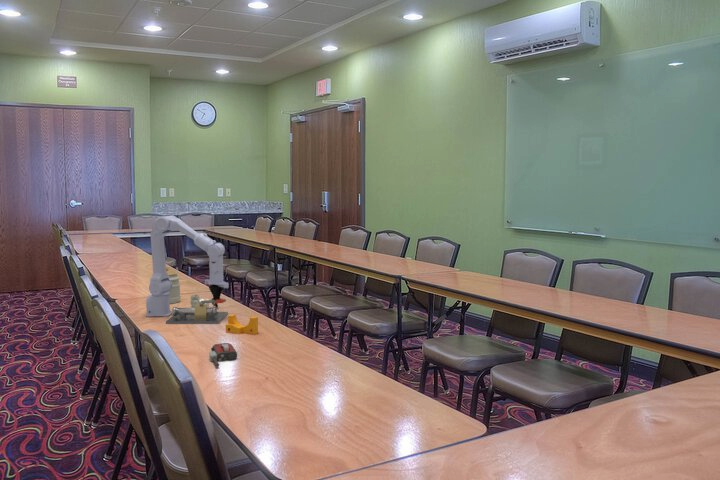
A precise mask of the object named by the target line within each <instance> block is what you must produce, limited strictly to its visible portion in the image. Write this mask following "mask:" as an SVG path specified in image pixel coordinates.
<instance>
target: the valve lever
mask: <svg viewBox="0 0 720 480" xmlns="http://www.w3.org/2000/svg"><path fill="white" fill-rule="evenodd" d="M226 301H227V300H226V298H222V297H221V298H220V299H216V300H211V299H203V300H202V301H201V302H202V303H200V306H203V305H204V303H205V304H206V303H209V304H212V303H218V304H224V303H226Z"/></svg>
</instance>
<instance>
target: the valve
mask: <svg viewBox="0 0 720 480" xmlns="http://www.w3.org/2000/svg"><path fill="white" fill-rule="evenodd" d="M202 300H204V298H200V295H199V294H192V295H190V302H189V303H190V308H194V307H195V306H196V305H197V304H200V303H202V302H201V301H202ZM210 300H213V297H212V298H211V299H210ZM204 304H209V305H210V303H204ZM211 304H212V307H217V308H218V307H219V305H218V304H219V303H211Z"/></svg>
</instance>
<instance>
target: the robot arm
mask: <svg viewBox="0 0 720 480" xmlns="http://www.w3.org/2000/svg"><path fill="white" fill-rule="evenodd" d="M172 231H178V232H180V233H182V234H183V235H184V236H186V237H188V238H190V239H191V240H193V243H194V245H196V246H197V247H198V248H200V249H201V250H203V251H204V252H206V253H207V256H208V257H209V260H208V261H209V279H208V278H207V279H204V285H210V286H209V287H208V288H209V291H210V293H211V295H212V298H213V300H216V299H221V295H222V292H223V290H224V289H227V288H228V289H229V287H230V286H229V285H230V283H229V282H226V281H224V254H225V252H226V248H225V245H224V244H223V243H221V242H217V240H216V239H214V240H213V239H212V238H211V237H209V236H208V234H207V233H202V232H201V233H198V232H197V231H195V230H194V229H193V228H192V227H190V226H189V225H187V224H186V223H185V222H184V221H182V220H181V218H179V217H177V216H175V215H173V214H170V215H166V216H165V215H164V216H163V215H162V216H159V217H157V218H156V219H155V220H153V226H152V229H151V231H150V233H149V234H150V235H149V236H150V244H151V245H150V246H151V257H152V258H151V260H152V273H153V274H152V276H151V277H150V280H149V286H148V291H149V293H150V294H148V295H147V297H146V300H145V301H146V302H145V303H146V305H145V306H146V315H145V316H146V317H169V316H170V315H171V314H172V310H171V308H170V307H171V306H170V305H171V304H170V298H169V293H170V292H169V291H170V290H171V288H172V283H171V281H170V278H169V275H168V274H167V272H166V266H167V264H166V251H165V250H166V249H165V248H166V247H165V237H166V235H168V233H170V232H172Z"/></svg>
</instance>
